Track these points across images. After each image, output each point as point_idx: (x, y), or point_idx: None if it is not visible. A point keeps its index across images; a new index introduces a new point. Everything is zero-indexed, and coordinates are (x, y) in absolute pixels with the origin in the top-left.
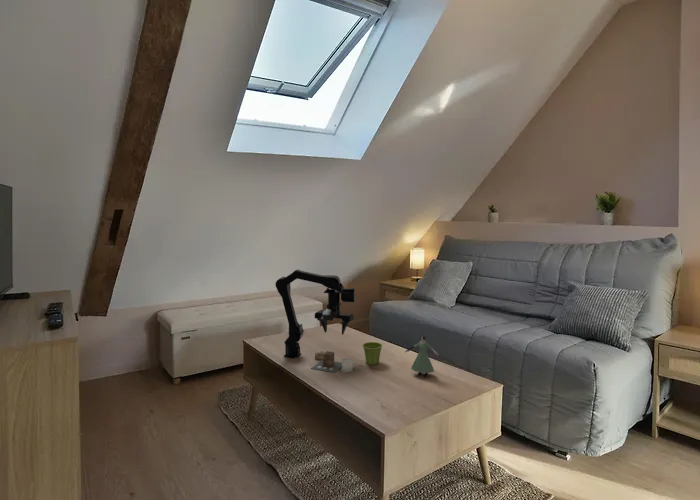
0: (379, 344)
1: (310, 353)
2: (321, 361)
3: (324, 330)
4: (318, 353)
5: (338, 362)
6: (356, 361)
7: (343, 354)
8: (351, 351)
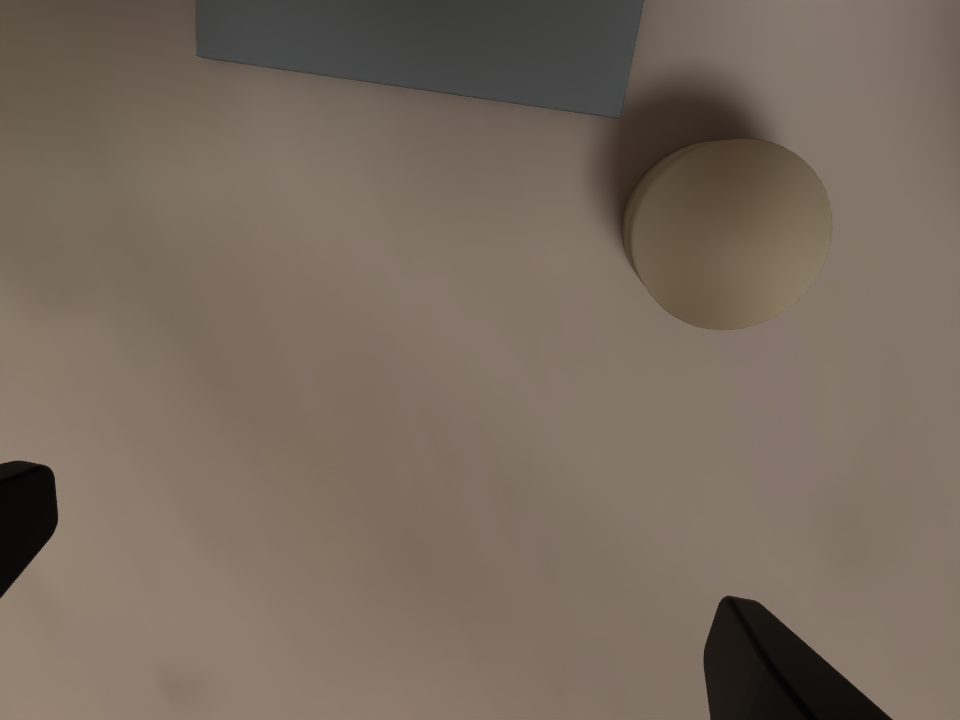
0: None
1: (909, 410)
2: (621, 17)
3: (797, 649)
4: (739, 169)
5: (317, 53)
6: (105, 224)
7: (384, 465)
8: (321, 591)
